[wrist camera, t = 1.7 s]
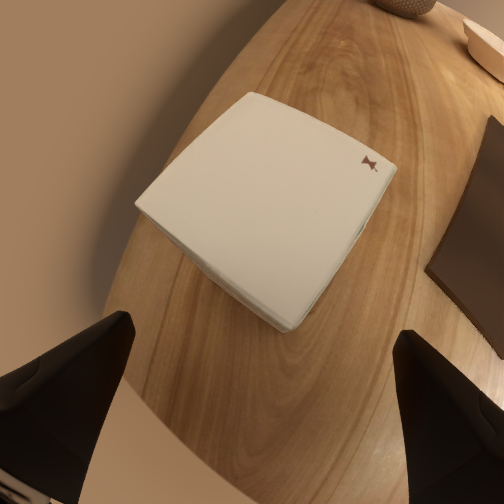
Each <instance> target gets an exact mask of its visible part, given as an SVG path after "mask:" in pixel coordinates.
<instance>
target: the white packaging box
mask: <svg viewBox="0 0 504 504" xmlns="http://www.w3.org/2000/svg"><path fill="white" fill-rule="evenodd" d="M396 171H397V167H396V165H394V164H393V163H391V162H390V161H388V160H387V159H386V158H384V157H383V156H381V155H380V154H378V153H377V152H375V151H374V150H372V149H370V148H369V147H367V146H366V145H364V144H362V143H361V142H359V141H357V140H355V139H354V138H352V137H350V136H348V135H346V134H345V133H343V132H341V131H339V130H337V129H335V128H333V127H332V126H330V125H328V124H326V123H324V122H322V121H319V120H317V119H315V118H313V117H311V116H309V115H307V114H305V113H303V112H301V111H299V110H296V109H294V108H292V107H290V106H287V105H285V104H283V103H280V102H278V101H276V100H273V99H271V98H269V97H266V96H263V95H261V94H257V93H254V92H248V93H247V94H246V95H245V96H243V97H242V98H241V99H240V100H239V101H237V102H236V103H235V104H234V105H233V106H232V107H230V108H229V109H228V110H227V111H226V112H225V113H224V114H222V115H221V116H220V117H219V118H218V119H217V120H216V121H214V122H213V123H212V124H211V125H210V126H209V127H208V128H207V129H206V130H205V131H203V132H202V133H201V134H200V135H199V136H198V137H197V138H196V139H195V140H194V141H193V142H192V143H191V144H190V145H189V146H188V147H187V148H186V149H185V150H184V151H183V152H182V153H181V154H180V155H179V156H178V157H177V158H176V159H175V160H174V161H173V162H172V163H171V164H170V165H169V166H168V167H167V168H166V169H165V170H164V171H163V172H162V173H161V174H160V175H159V176H158V177H157V178H156V179H155V181H154V182H153V183H152V184H151V185H150V186H149V187H148V188H147V189H146V190H145V191H144V193H143V194H142V195H141V196H140V197H139V198H138V199H137V200H136V202H135V205H136V206H137V208H138V209H139V210H140V211H141V212H142V213H143V214H144V215H145V216H146V217H147V218H148V219H149V220H150V221H151V222H152V223H153V224H154V225H155V226H156V227H157V228H158V229H159V230H160V231H161V232H162V233H163V234H164V235H165V236H166V237H167V238H168V239H169V240H170V241H171V242H172V243H174V244H175V245H176V246H177V247H178V248H179V249H180V250H181V251H182V252H183V253H184V254H185V255H186V256H187V257H188V258H189V259H190V260H191V261H192V262H193V263H194V264H195V265H196V266H197V267H198V268H199V269H200V270H201V271H202V272H203V273H204V274H205V275H206V276H207V277H208V278H209V279H211V280H212V281H213V282H215V283H216V284H217V285H218V286H220V287H221V288H222V289H223V290H225V291H226V292H227V293H228V294H230V295H231V296H232V297H233V298H235V299H236V300H237V301H239V302H240V303H241V304H243V305H244V306H245V307H247V308H248V309H249V310H251V311H252V312H253V313H255V314H256V315H257V316H259V317H260V318H262V319H263V320H264V321H266V322H267V323H269V324H270V325H271V326H273V327H274V328H276V329H277V330H279V331H280V332H281V333H287V332H289V331H292V330H294V329H296V328H297V327H298V326H299V325H300V324H301V322H302V321H303V320H304V318H305V317H306V316H307V314H308V313H309V311H310V310H311V309H312V307H313V306H314V304H315V303H316V301H317V300H318V299H319V297H320V296H321V294H322V293H323V292H324V290H325V289H326V287H327V286H328V284H329V283H330V281H331V280H332V278H333V277H334V275H335V274H336V272H337V271H338V269H339V268H340V266H341V265H342V263H343V262H344V260H345V258H346V257H347V255H348V254H349V252H350V251H351V249H352V247H353V246H354V244H355V243H356V241H357V239H358V238H359V236H360V235H361V233H362V231H363V230H364V228H365V226H366V224H367V222H368V221H369V219H370V217H371V215H372V214H373V212H374V210H375V208H376V207H377V205H378V203H379V201H380V200H381V198H382V196H383V194H384V192H385V190H386V189H387V187H388V185H389V183H390V181H391V180H392V178H393V176H394V174H395V172H396Z"/></svg>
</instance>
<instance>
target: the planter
mask: <svg viewBox="0 0 504 504" xmlns="http://www.w3.org/2000/svg"><path fill="white" fill-rule="evenodd" d="M436 1H437V0H375V2H376V4H377V5H378V6H379V7H381V8H382V9H384V10H386V11H388V12H391V13H393V14H396V15H399V16H402V17H405V18H410V19H413V18H415V17H417V16H418V15H423V14H426V13H428V12H429V11H430V10H431V9H432V8H433V6H434V5H435V3H436Z"/></svg>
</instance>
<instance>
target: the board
mask: <svg viewBox="0 0 504 504" xmlns="http://www.w3.org/2000/svg"><path fill="white" fill-rule="evenodd" d="M425 272H426V273H427V274H428V275H429V276H430V277H431V278H432V279H433V280H434V281H435V282H436V283H437V284H438V285H439V287H440V288H441V289H442V290H443V291H444V292H445V293H446V294H447V295H448V296H449V297H450V298H451V299H452V300H453V301H454V302H455V303H456V305H457V306H458V307H459V308H460V309H461V310H462V311H463V312H464V313H465V315H466V316H467V317H468V318H469V319H470V320H471V322H472V323H473V324H474V325H475V326H476V327H477V329H478V330H479V331H480V332H481V333H482V335H483V336H484V337H485V338H486V340H487V341H488V342H489V343H490V345H491V346H492V347H493V348H494V350H495V351H496V352H497V354H498V355H499V356H500V358H501V359H502V360H504V126H503V125H502V124H501V123H500V122H499V121H498V120H497V119H496V118H495V117H493V116H492V115H491V116H490V117H489V119H488V123H487V127H486V130H485V134H484V137H483V141H482V144H481V147H480V150H479V153H478V156H477V159H476V162H475V165H474V168H473V171H472V173H471V176H470V179H469V181H468V184H467V186H466V189H465V191H464V194H463V196H462V198H461V201H460V203H459V205H458V207H457V210H456V212H455V214H454V216H453V218H452V220H451V222H450V225H449V227H448V229H447V231H446V233H445V235H444V237H443V238H442V240H441V242H440V244H439V246H438V248H437V250H436V252H435V253H434V255H433V257H432V259H431V261H430V262H429V264H428V266H427V268H426V269H425Z"/></svg>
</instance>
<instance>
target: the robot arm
mask: <svg viewBox="0 0 504 504" xmlns="http://www.w3.org/2000/svg"><path fill="white" fill-rule="evenodd" d="M135 334H136V332H135V327H134V324H133V321H132V318H131V315H130V314H129V313H128V312H125V311H116V312H115V313H113V314H111V315H109V316H108V317H106V318H104V319H102V320H101V321H99V322H97V323H95V324H94V325H92V326H90V327H89V328H87V329H85V330H83V331H82V332H80V333H78V334H77V335H75V336H73V337H71V338H70V339H68V340H66V341H65V342H63V343H61V344H59V345H58V346H56V347H54V348H53V349H51V350H49V351H48V352H46V353H44V354H42V355H41V356H39V357H38V358H36V359H34V360H32V361H31V362H29V363H27V364H25V365H24V366H22V367H20V368H18V369H16V370H14V371H12V372H10V373H8V374H6V375H4V376H2V377H0V504H52V503H51V502H50V499H51V498H53V499H55V500H57V501H59V502H61V503H63V504H78V501H79V497H80V494H81V490H82V486H83V483H84V480H85V477H86V473H87V470H88V467H89V464H90V461H91V457H92V454H93V451H94V448H95V445H96V443H97V440H98V437H99V434H100V431H101V429H102V426H103V423H104V421H105V418H106V415H107V413H108V410H109V407H110V405H111V402H112V400H113V397H114V395H115V392H116V390H117V387H118V385H119V383H120V380H121V378H122V375H123V373H124V370H125V367H126V364H127V360H128V357H129V354H130V351H131V348H132V344H133V341H134V338H135ZM392 354H393V363H394V372H395V383H396V393H397V399H398V405H399V410H400V416H401V422H402V429H403V436H404V444H405V452H406V461H407V472H408V487H409V504H504V411H503V410H502V409H501V408H500V407H498V406H497V405H496V404H495V403H494V402H493V401H492V400H491V399H490V398H488V397H487V396H486V395H485V394H484V393H483V392H482V391H480V389H479V388H478V387H477V386H476V385H475V384H474V383H472V382H471V381H470V380H469V379H468V378H467V377H466V376H465V375H464V374H463V373H462V372H460V371H459V370H458V369H457V368H456V367H455V366H454V365H453V364H452V363H450V362H449V361H448V360H447V359H446V358H445V357H444V356H443V355H441V354H440V353H439V352H438V351H437V350H436V349H435V348H434V347H432V346H431V345H430V344H429V343H428V342H427V341H425V340H424V339H423V338H422V337H421V336H420V335H418V334H417V333H416V332H415V331H414V330H402V331H401V332H400V334H399V336H398V338H397V340H396V342H395V345H394V347H393V351H392Z"/></svg>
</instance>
